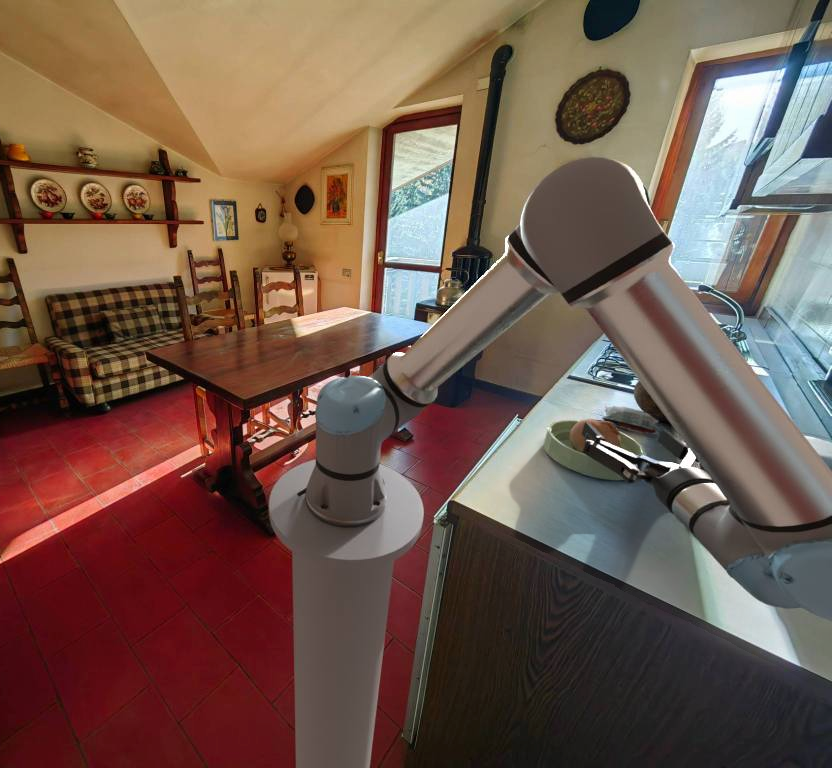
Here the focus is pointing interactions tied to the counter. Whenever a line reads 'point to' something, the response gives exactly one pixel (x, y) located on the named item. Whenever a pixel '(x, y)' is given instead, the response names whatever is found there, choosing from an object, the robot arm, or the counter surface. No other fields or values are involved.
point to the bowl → (564, 453)
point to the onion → (601, 426)
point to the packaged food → (631, 419)
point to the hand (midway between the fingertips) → (622, 431)
